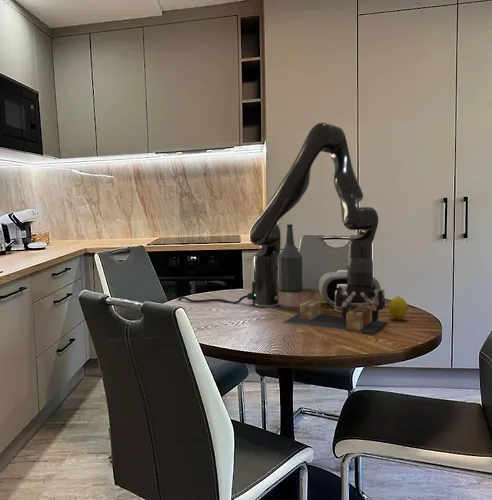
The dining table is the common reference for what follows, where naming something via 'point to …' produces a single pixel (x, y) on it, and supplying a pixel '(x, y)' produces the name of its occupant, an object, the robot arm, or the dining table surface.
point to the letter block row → (357, 318)
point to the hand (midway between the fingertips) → (359, 320)
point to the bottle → (290, 265)
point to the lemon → (398, 307)
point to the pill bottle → (345, 296)
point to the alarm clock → (330, 286)
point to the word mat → (336, 323)
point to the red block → (365, 315)
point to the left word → (310, 310)
